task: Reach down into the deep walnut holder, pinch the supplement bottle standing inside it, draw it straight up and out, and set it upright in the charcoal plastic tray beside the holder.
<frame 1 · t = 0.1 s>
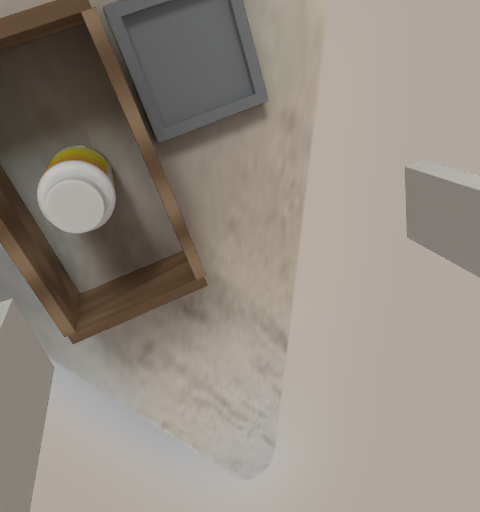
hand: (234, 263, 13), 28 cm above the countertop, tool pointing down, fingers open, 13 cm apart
tray: (190, 58, 36), on the countertop
supplement bottle: (82, 174, 37), resting in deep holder
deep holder: (82, 175, 37), on the countertop
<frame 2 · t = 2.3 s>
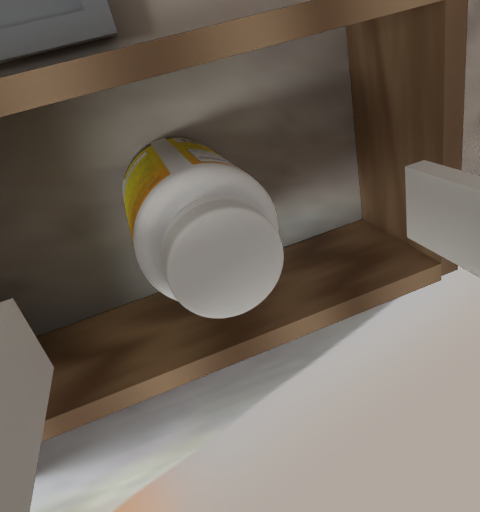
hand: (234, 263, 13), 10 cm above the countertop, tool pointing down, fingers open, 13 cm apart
supplement bottle: (174, 186, 22), resting in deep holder
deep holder: (175, 187, 22), on the countertop
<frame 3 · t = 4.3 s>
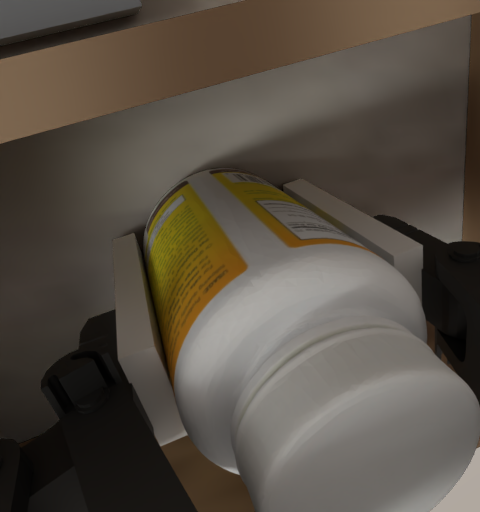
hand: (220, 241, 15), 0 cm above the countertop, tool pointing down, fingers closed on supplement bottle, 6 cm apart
supplement bottle: (216, 236, 15), resting in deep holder, touching gripper
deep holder: (218, 238, 15), on the countertop
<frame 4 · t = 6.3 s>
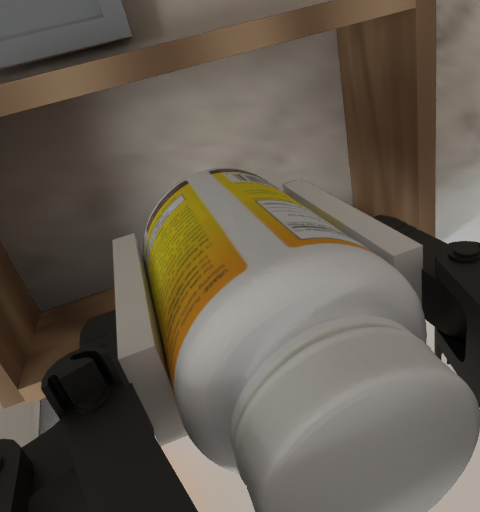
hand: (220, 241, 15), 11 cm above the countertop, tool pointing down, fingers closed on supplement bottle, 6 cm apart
supplement bottle: (216, 236, 15), point 10 cm above the countertop, touching gripper
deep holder: (181, 174, 24), on the countertop
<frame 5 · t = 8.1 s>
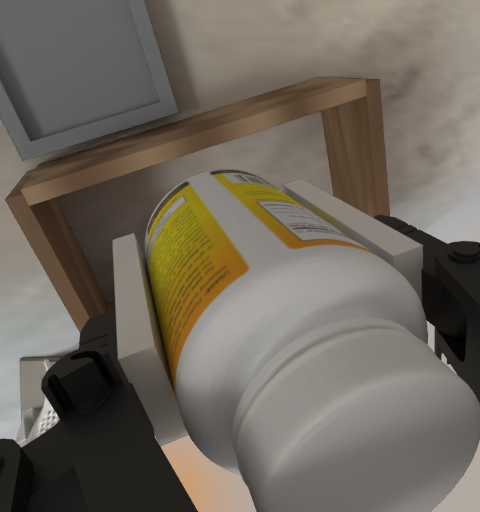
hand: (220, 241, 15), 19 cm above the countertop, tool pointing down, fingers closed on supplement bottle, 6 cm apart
tray: (69, 50, 27), on the countertop
supplement bottle: (217, 237, 15), point 18 cm above the countertop, touching gripper
skyscraper: (71, 380, 37), on the countertop
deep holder: (209, 200, 34), on the countertop
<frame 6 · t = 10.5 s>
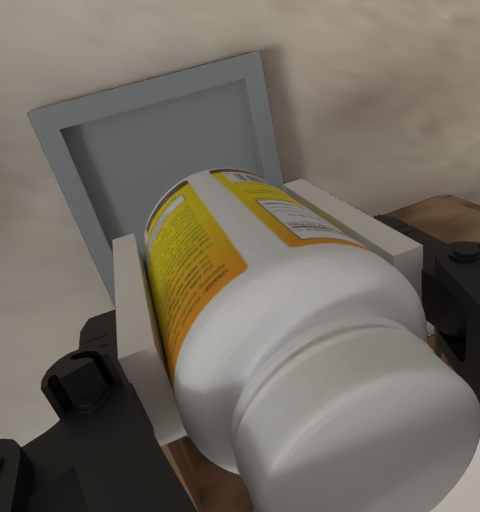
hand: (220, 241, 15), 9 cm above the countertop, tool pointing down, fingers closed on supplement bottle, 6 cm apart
tray: (178, 184, 22), on the countertop
supplement bottle: (216, 236, 15), point 8 cm above the countertop, touching gripper
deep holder: (308, 327, 30), on the countertop
when the fingers open (3 cm above the countertop, at t = 12.3 s): supplement bottle drops 2 cm, resting on tray.
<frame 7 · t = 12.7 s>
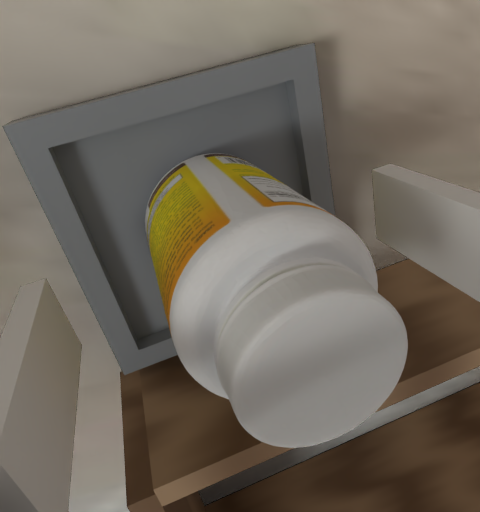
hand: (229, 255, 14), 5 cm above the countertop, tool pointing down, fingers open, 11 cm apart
tray: (201, 213, 18), on the countertop
supplement bottle: (210, 215, 17), point 1 cm above the countertop, touching tray
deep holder: (350, 376, 25), on the countertop
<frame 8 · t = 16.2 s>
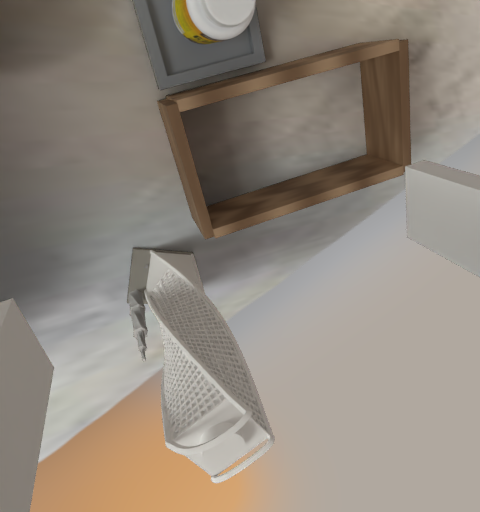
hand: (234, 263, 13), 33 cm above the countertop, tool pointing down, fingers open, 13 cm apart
tray: (196, 14, 39), on the countertop
supplement bottle: (200, 12, 38), point 1 cm above the countertop, touching tray
skyscraper: (165, 270, 49), on the countertop
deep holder: (277, 132, 46), on the countertop
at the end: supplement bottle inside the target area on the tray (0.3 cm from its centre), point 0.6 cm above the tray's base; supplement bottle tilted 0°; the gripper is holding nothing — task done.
